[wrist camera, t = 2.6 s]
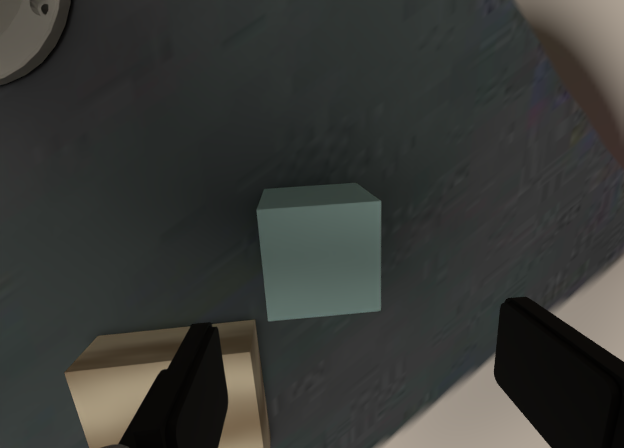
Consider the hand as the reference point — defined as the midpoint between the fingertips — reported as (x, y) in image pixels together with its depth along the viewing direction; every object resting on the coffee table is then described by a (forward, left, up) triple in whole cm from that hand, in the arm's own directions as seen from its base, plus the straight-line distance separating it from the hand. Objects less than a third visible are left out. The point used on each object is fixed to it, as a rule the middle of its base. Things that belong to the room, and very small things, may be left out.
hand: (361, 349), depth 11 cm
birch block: (+11, -11, -13) cm, 20 cm away
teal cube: (-1, -1, -12) cm, 12 cm away
